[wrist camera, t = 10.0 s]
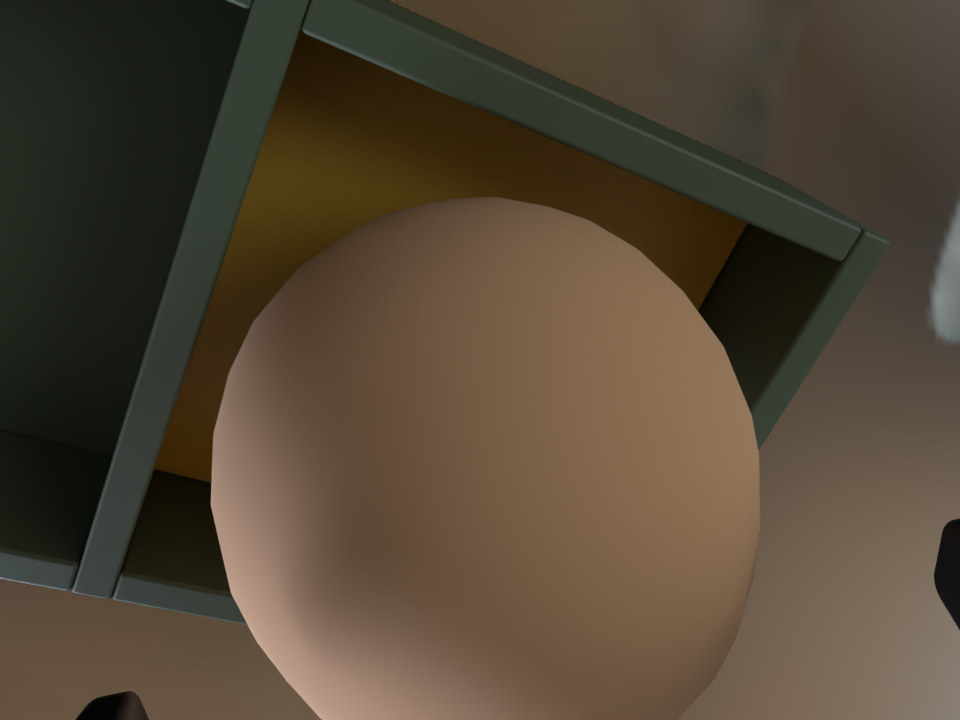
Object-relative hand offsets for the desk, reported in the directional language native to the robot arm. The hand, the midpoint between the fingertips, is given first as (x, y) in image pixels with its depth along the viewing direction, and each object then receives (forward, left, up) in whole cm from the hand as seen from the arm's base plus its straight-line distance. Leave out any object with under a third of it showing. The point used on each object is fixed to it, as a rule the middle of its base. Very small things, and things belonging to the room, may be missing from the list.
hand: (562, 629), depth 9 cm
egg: (0, 0, -8) cm, 8 cm away
